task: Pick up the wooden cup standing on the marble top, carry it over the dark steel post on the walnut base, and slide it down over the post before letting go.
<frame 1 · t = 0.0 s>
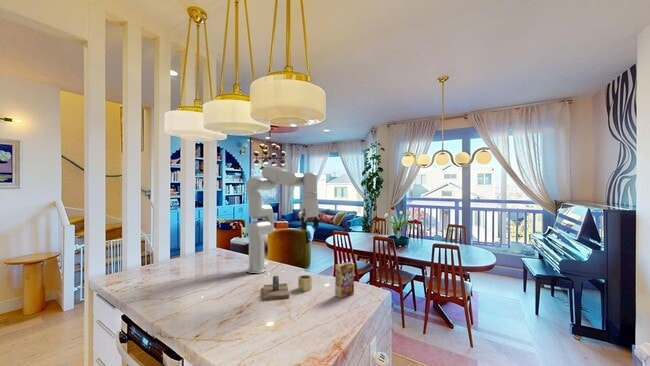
hand: (310, 228, 138), 31 cm above the countertop, tool pointing down, fingers open, 9 cm apart
post stand: (275, 292, 130), on the countertop
wooden cup: (304, 288, 135), on the countertop
candy box: (344, 295, 127), on the countertop
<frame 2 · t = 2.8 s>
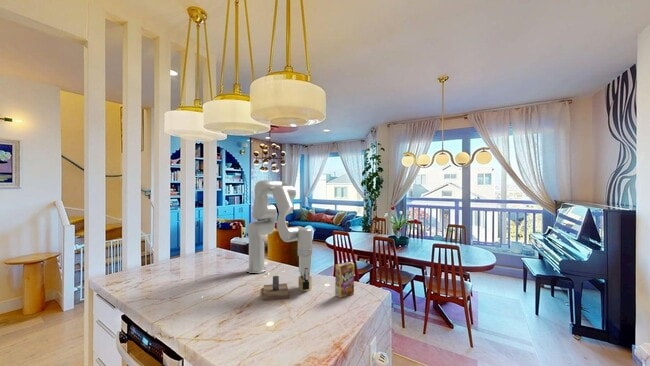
hand: (304, 286, 135), 1 cm above the countertop, tool pointing down, fingers closed on wooden cup, 6 cm apart
wooden cup: (304, 288, 135), on the countertop, touching gripper
everything else where it was.
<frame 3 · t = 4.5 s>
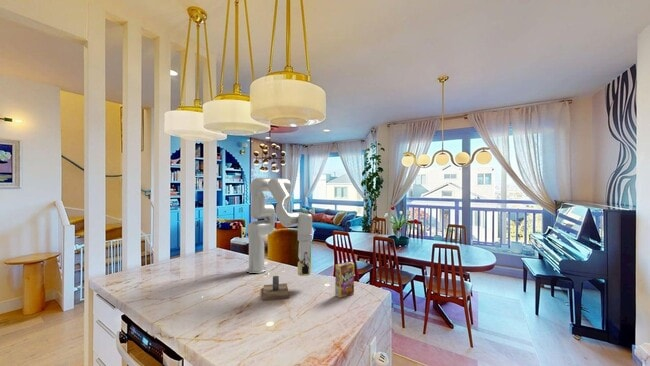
hand: (304, 271, 135), 9 cm above the countertop, tool pointing down, fingers closed on wooden cup, 6 cm apart
wooden cup: (304, 273, 135), point 8 cm above the countertop, touching gripper
everything else where it was.
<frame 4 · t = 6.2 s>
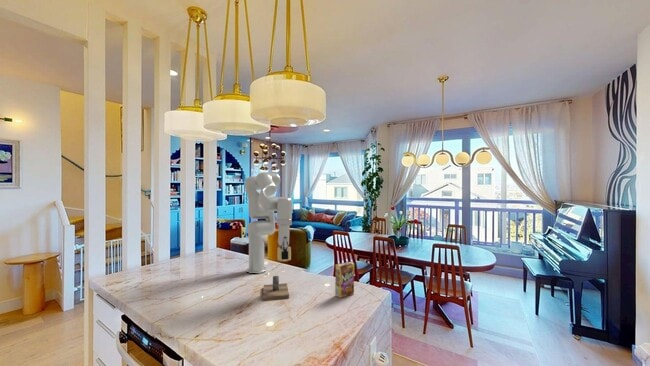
hand: (284, 256, 132), 17 cm above the countertop, tool pointing down, fingers closed on wooden cup, 6 cm apart
wooden cup: (284, 259, 132), point 16 cm above the countertop, touching gripper
everything else where it was.
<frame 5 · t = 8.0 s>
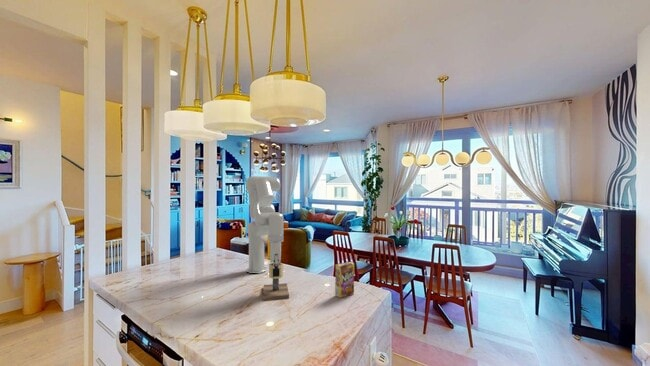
hand: (275, 273, 130), 9 cm above the countertop, tool pointing down, fingers closed on wooden cup, 6 cm apart
wooden cup: (275, 276, 130), point 8 cm above the countertop, touching gripper
everything else where it was.
when the fingers open (4 cm above the countertop, at t = 9.6 s): wooden cup drops 1 cm, resting on post stand.
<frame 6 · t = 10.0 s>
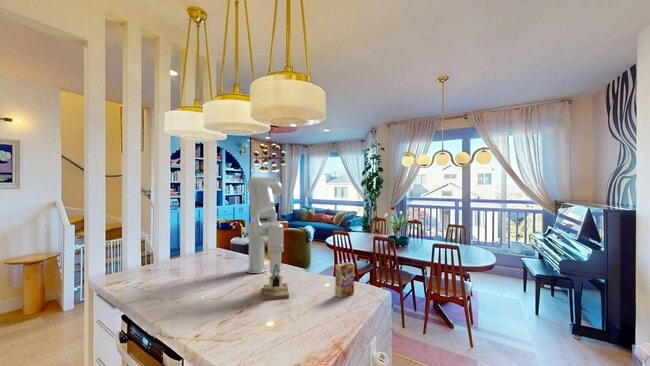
hand: (275, 283, 130), 5 cm above the countertop, tool pointing down, fingers open, 9 cm apart
wooden cup: (275, 289, 130), point 1 cm above the countertop, touching post stand
everything else where it was.
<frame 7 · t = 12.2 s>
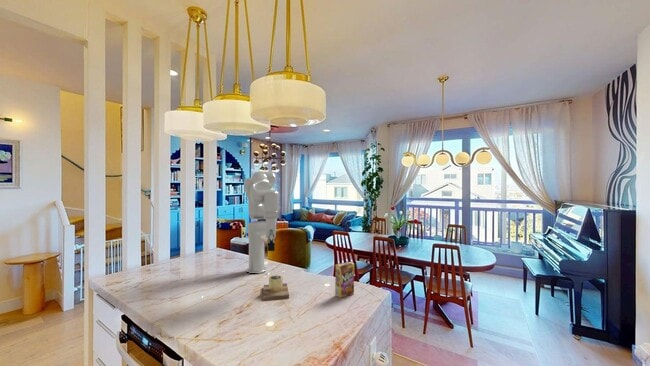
hand: (270, 248, 133), 22 cm above the countertop, tool pointing down, fingers open, 9 cm apart
nothing on the countertop moved.
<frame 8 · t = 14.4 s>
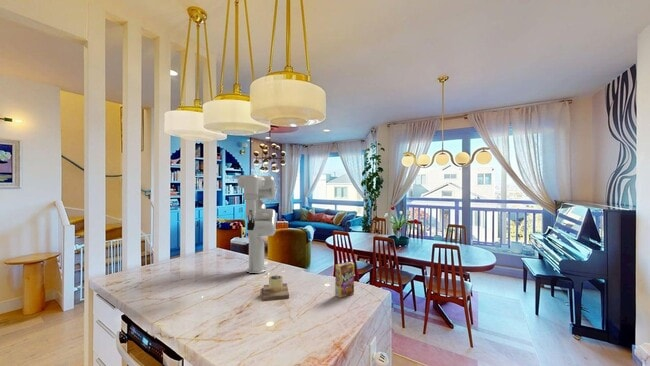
hand: (251, 228, 141), 30 cm above the countertop, tool pointing down, fingers open, 9 cm apart
nothing on the countertop moved.
at the end: wooden cup 0.1 cm off-centre on the post stand, point 1.5 cm above the post stand's base; wooden cup tilted 0°; the gripper is holding nothing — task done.
